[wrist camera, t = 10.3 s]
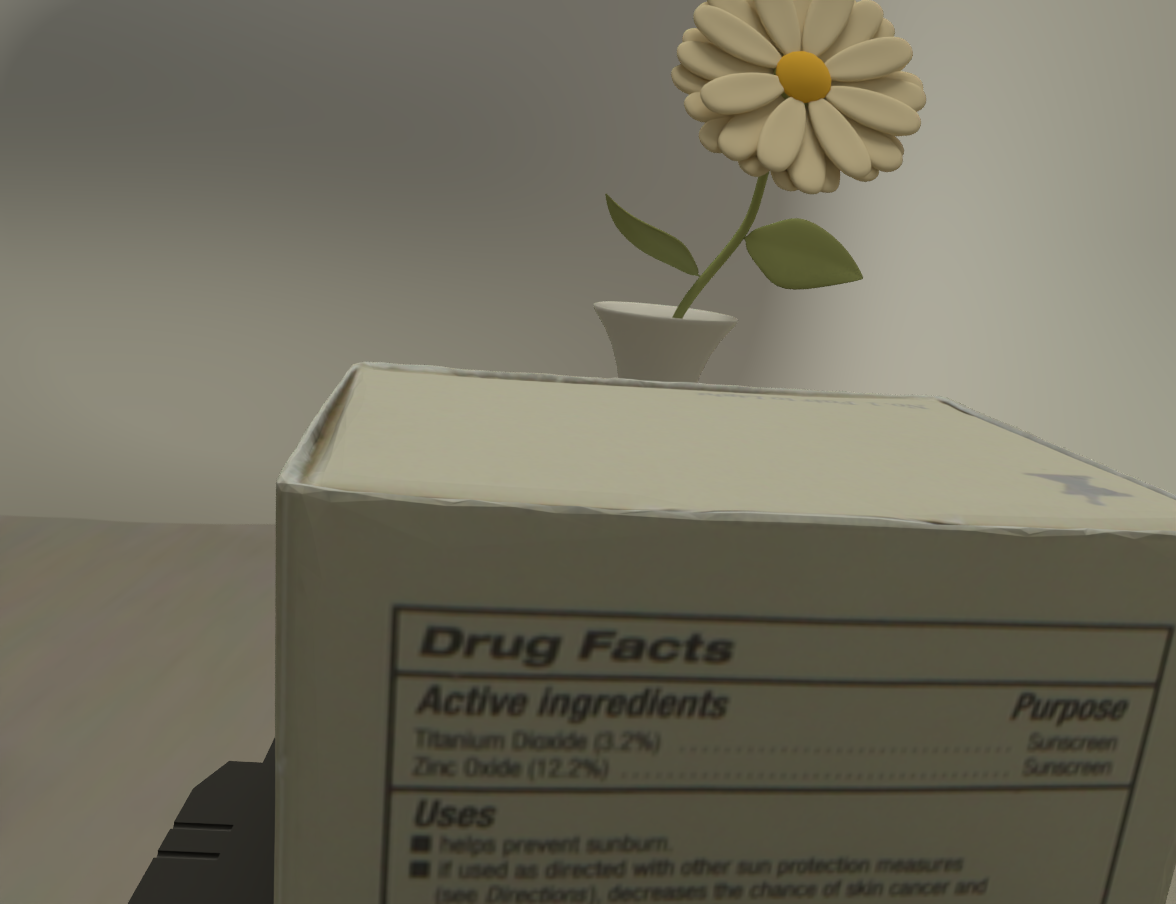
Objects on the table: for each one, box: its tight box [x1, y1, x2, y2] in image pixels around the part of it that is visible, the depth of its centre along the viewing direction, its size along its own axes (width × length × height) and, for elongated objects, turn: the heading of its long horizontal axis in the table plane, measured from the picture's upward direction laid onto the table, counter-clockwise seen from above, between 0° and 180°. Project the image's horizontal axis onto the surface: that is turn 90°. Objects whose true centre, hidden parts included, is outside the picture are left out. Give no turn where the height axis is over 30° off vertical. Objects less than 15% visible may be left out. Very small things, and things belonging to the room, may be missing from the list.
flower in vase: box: [594, 0, 926, 383], centre depth 34 cm, size 13×11×25 cm
